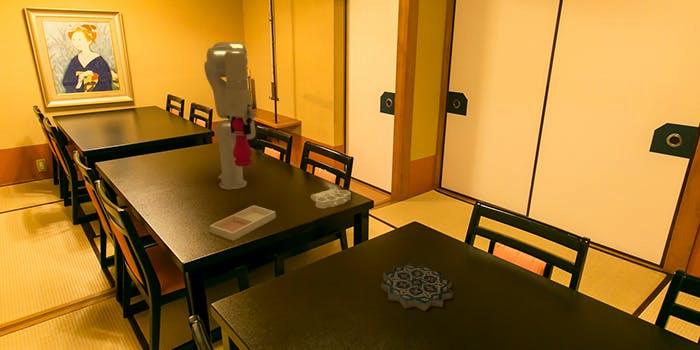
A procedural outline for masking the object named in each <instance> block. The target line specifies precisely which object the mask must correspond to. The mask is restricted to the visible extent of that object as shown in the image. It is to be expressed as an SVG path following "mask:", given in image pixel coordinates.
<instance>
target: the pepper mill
mask: <svg viewBox="0 0 700 350" xmlns="http://www.w3.org/2000/svg"><path fill="white" fill-rule="evenodd" d="M243 125H244V121H243V118H242V117H238V118H236V119H234V121H233V123H232V126H233V128H234V129H235V131H234V132H235V133H234V134H235V135H236V141H235V143H236V144H235V147H234V150H233V156H234V157H235V158H236V160H235V165H236V166H242V167H249V166H251V165H252V164H253V163H252V159H251V157H252V155H253V151H252V148H251V146H250V144H249V142H248V139H247V135H244V129H243Z"/></svg>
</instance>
